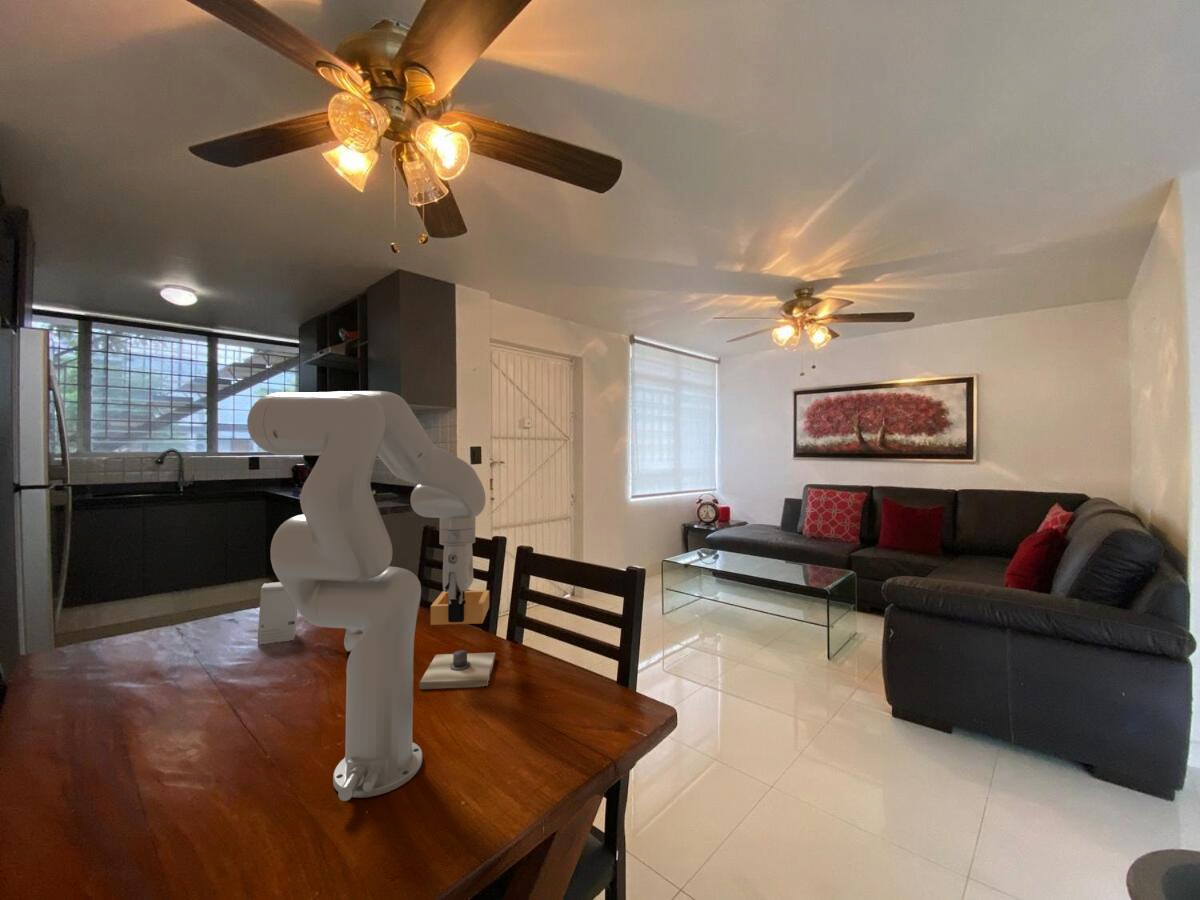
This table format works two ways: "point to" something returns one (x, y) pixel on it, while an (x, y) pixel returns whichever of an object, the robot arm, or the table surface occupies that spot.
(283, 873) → the table surface
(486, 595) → the tan square frame
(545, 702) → the table surface
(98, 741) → the table surface
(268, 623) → the skincare box
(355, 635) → the plastic bottle
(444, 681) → the board
